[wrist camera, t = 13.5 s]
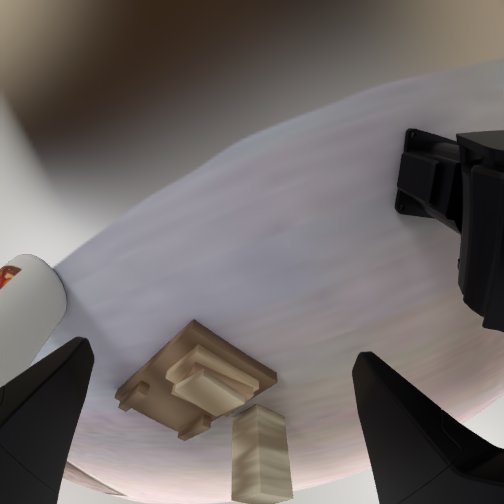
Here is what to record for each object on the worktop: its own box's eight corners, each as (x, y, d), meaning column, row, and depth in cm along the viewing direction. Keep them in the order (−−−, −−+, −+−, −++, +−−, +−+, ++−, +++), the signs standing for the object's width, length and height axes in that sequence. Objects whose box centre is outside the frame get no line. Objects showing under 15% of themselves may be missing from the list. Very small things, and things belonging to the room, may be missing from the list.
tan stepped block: (193, 319, 24) (186, 351, 20) (276, 373, 27) (280, 404, 23) (117, 390, 28) (107, 416, 25) (186, 427, 31) (182, 453, 28)
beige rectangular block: (256, 404, 29) (260, 492, 19) (284, 417, 30) (293, 498, 21) (232, 417, 30) (231, 500, 20) (260, 429, 32) (264, 506, 22)
